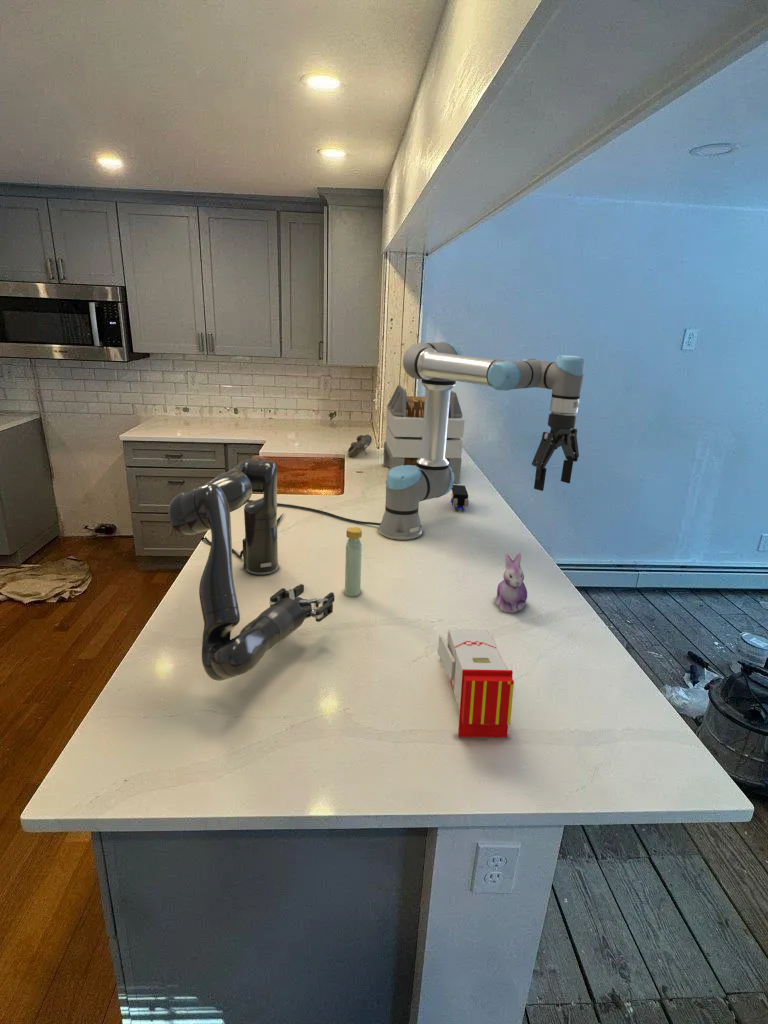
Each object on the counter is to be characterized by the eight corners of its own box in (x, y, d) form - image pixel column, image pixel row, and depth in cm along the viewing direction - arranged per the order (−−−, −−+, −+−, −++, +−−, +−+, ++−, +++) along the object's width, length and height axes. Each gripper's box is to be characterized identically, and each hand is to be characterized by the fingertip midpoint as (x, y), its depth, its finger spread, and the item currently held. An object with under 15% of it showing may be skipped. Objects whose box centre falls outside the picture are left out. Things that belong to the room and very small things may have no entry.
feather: (290, 508, 223) (292, 504, 223) (272, 532, 197) (275, 527, 196) (286, 505, 223) (289, 501, 223) (268, 529, 197) (271, 525, 196)
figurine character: (468, 516, 224) (463, 500, 237) (471, 498, 221) (465, 483, 234) (452, 515, 224) (447, 499, 237) (453, 498, 220) (449, 482, 234)
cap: (350, 532, 154) (351, 525, 154) (364, 535, 153) (364, 528, 152) (343, 537, 151) (343, 530, 150) (357, 540, 149) (357, 533, 149)
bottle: (349, 587, 160) (350, 527, 154) (362, 591, 159) (364, 530, 152) (342, 593, 157) (343, 532, 150) (355, 597, 155) (357, 535, 149)
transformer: (382, 463, 289) (386, 382, 275) (445, 464, 293) (451, 384, 279) (390, 482, 257) (394, 392, 243) (460, 483, 261) (468, 394, 247)
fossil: (347, 440, 315) (369, 425, 310) (358, 454, 318) (379, 439, 313) (341, 454, 295) (364, 438, 290) (353, 468, 298) (375, 452, 293)
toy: (488, 613, 130) (523, 677, 101) (484, 667, 133) (517, 744, 104) (435, 612, 130) (455, 676, 101) (432, 666, 133) (451, 743, 103)
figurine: (509, 617, 148) (516, 565, 143) (485, 599, 156) (491, 550, 151) (537, 610, 152) (544, 559, 147) (512, 593, 161) (519, 544, 156)
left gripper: (306, 614, 120) (343, 584, 134) (251, 598, 126) (292, 571, 140) (306, 644, 123) (342, 612, 137) (252, 628, 128) (293, 598, 142)
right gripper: (548, 419, 148) (537, 496, 155) (598, 411, 163) (586, 482, 171) (525, 414, 153) (515, 489, 160) (575, 407, 169) (564, 476, 176)
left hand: (317, 591), depth 138 cm, fingers open, 8 cm apart
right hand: (552, 485), depth 166 cm, fingers open, 13 cm apart
